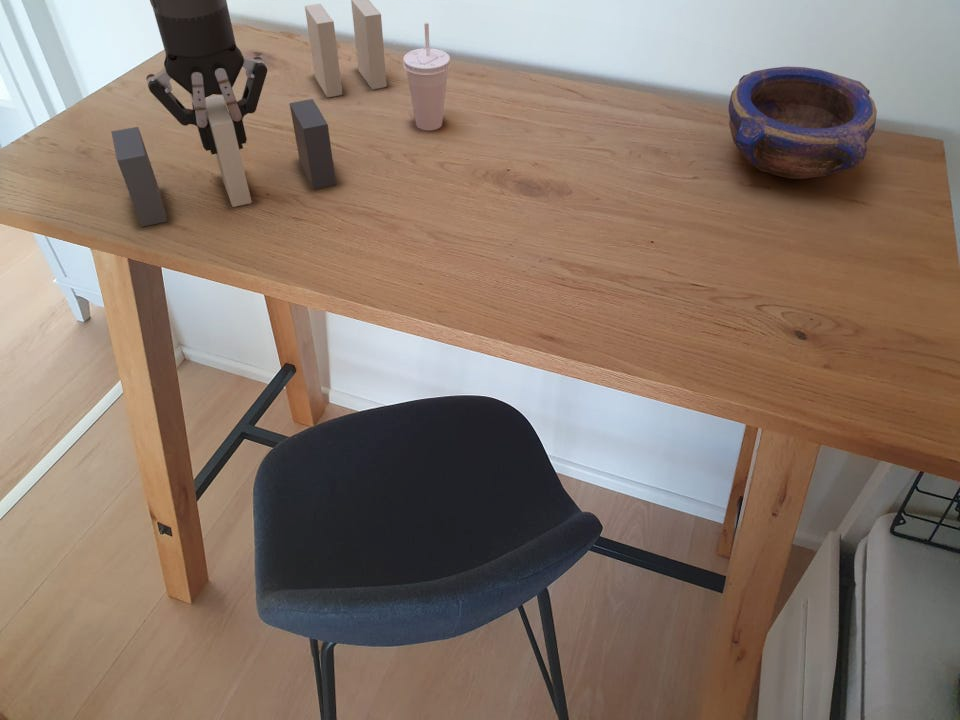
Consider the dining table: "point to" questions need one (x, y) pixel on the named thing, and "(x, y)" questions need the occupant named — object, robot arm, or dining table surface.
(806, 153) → the bowl
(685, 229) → the dining table surface
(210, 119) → the beige rectangular block
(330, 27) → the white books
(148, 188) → the grey books
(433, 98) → the smoothie
